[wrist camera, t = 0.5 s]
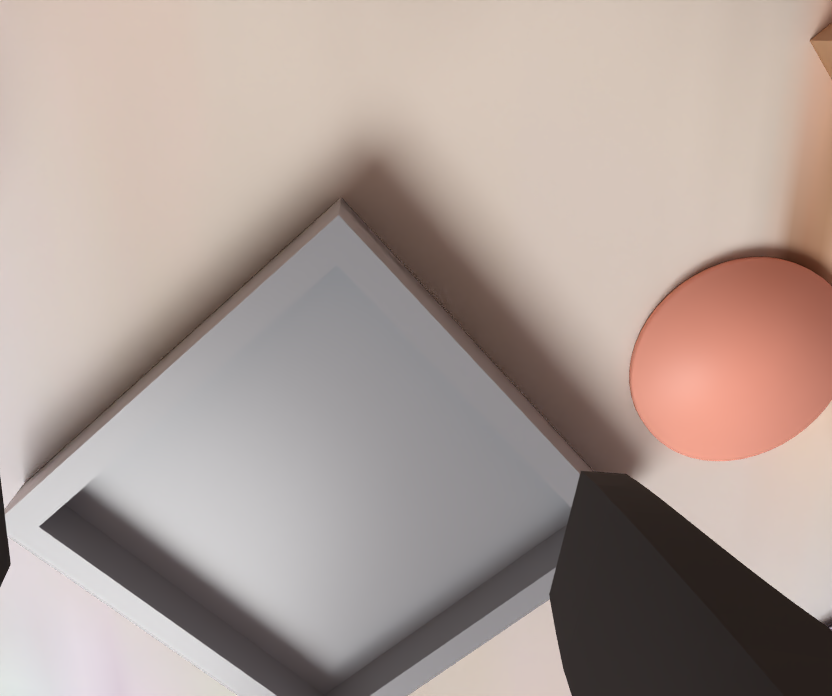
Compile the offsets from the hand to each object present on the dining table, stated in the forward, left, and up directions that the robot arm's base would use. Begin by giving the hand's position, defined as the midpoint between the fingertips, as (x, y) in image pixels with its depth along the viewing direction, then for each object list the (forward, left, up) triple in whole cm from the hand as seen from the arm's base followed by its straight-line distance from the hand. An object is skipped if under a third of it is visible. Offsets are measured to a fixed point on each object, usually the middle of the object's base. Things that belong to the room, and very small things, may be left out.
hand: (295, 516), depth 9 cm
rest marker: (-9, -6, -10) cm, 15 cm away
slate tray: (-5, +5, -10) cm, 12 cm away
